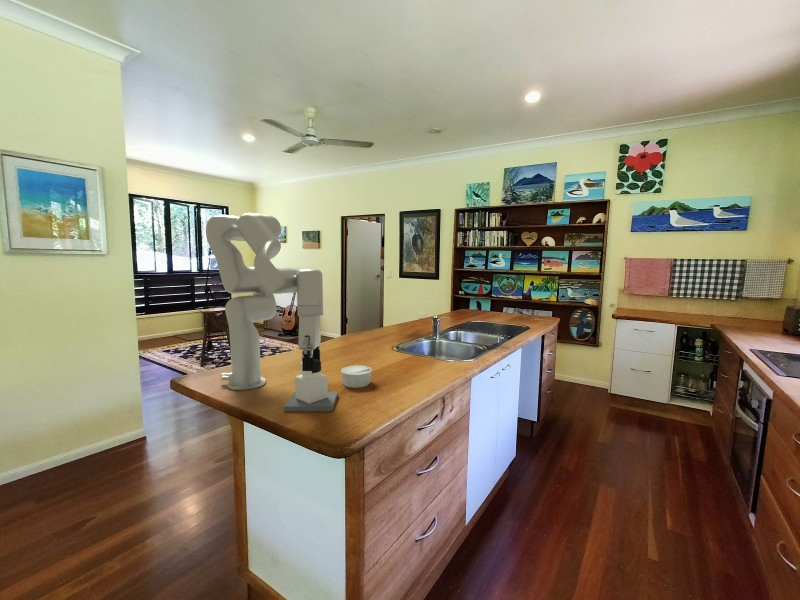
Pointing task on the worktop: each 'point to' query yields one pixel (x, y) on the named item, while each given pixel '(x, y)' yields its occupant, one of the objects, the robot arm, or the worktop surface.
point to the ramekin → (356, 376)
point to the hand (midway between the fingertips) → (311, 366)
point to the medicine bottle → (311, 384)
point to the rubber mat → (319, 405)
